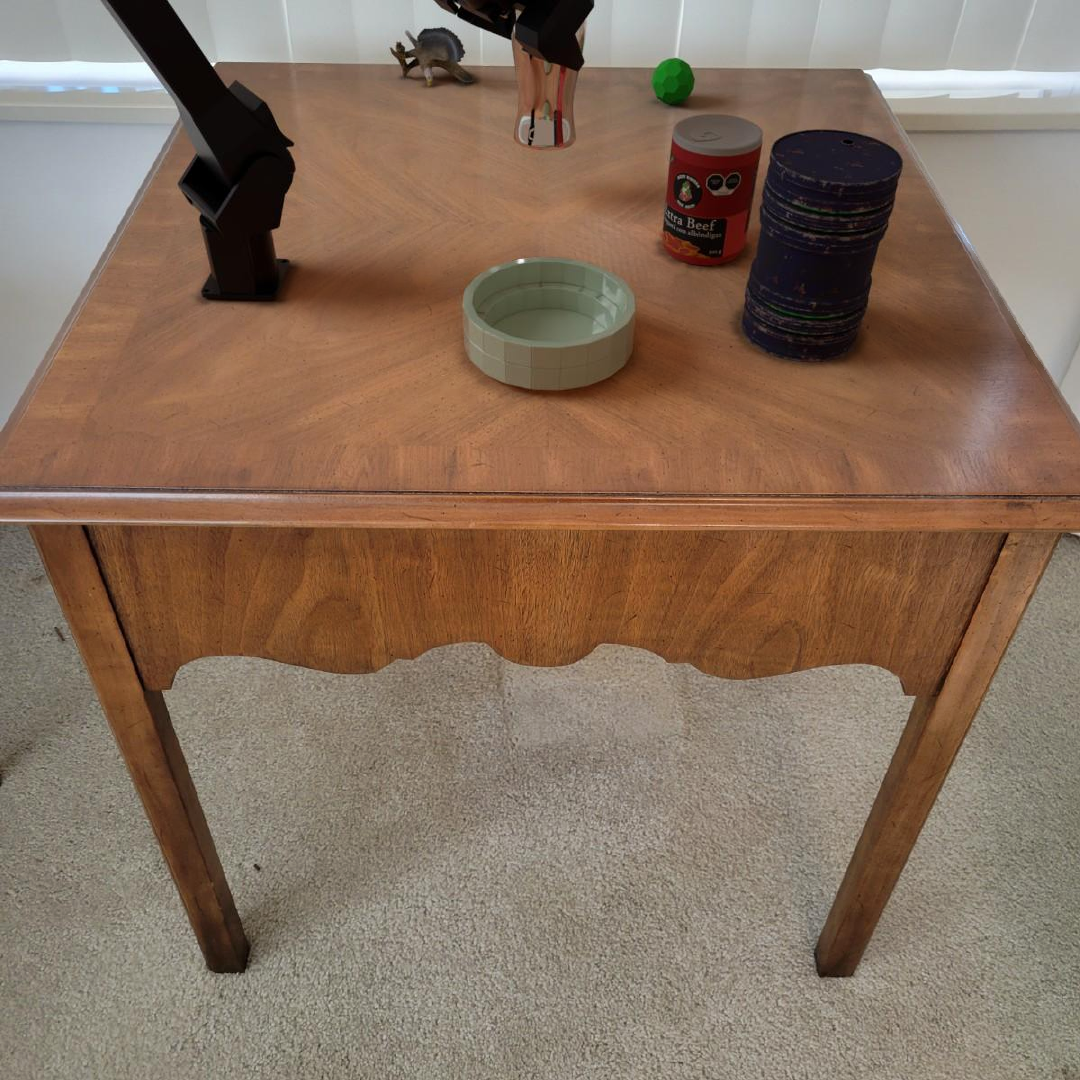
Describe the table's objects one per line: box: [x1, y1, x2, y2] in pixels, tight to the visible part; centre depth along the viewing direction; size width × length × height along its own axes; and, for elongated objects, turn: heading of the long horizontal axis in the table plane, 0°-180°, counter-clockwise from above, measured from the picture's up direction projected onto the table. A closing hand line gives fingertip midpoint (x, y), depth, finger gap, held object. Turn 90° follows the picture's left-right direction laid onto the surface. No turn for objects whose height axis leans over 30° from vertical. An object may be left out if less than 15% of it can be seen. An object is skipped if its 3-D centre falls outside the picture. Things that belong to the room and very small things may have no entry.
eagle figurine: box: [389, 26, 475, 87], centre depth 124 cm, size 8×7×9 cm
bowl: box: [461, 256, 637, 391], centre depth 82 cm, size 14×14×4 cm
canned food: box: [661, 113, 764, 266], centre depth 92 cm, size 8×8×11 cm
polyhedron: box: [651, 57, 696, 106], centre depth 120 cm, size 5×5×5 cm
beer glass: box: [510, 7, 588, 152], centre depth 95 cm, size 7×7×15 cm
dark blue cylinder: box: [740, 128, 904, 363], centre depth 81 cm, size 10×10×15 cm
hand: (558, 55), depth 95 cm, fingers closed on beer glass, 7 cm apart
